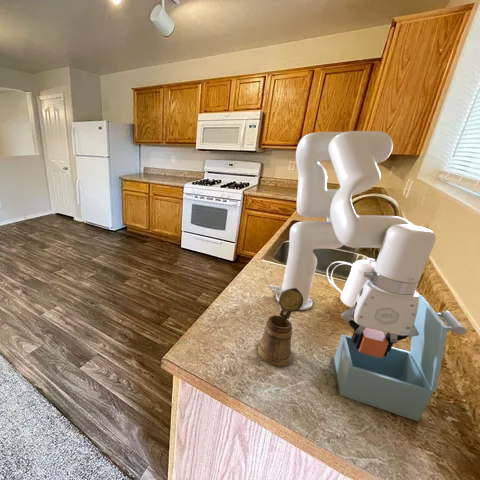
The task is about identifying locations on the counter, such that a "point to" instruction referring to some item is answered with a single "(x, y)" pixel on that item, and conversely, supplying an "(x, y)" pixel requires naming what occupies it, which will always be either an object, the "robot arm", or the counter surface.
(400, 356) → the chest
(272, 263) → the counter surface
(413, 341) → the lid
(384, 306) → the robot arm
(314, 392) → the counter surface
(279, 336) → the wooden mug
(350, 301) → the coffeepot
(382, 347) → the block
